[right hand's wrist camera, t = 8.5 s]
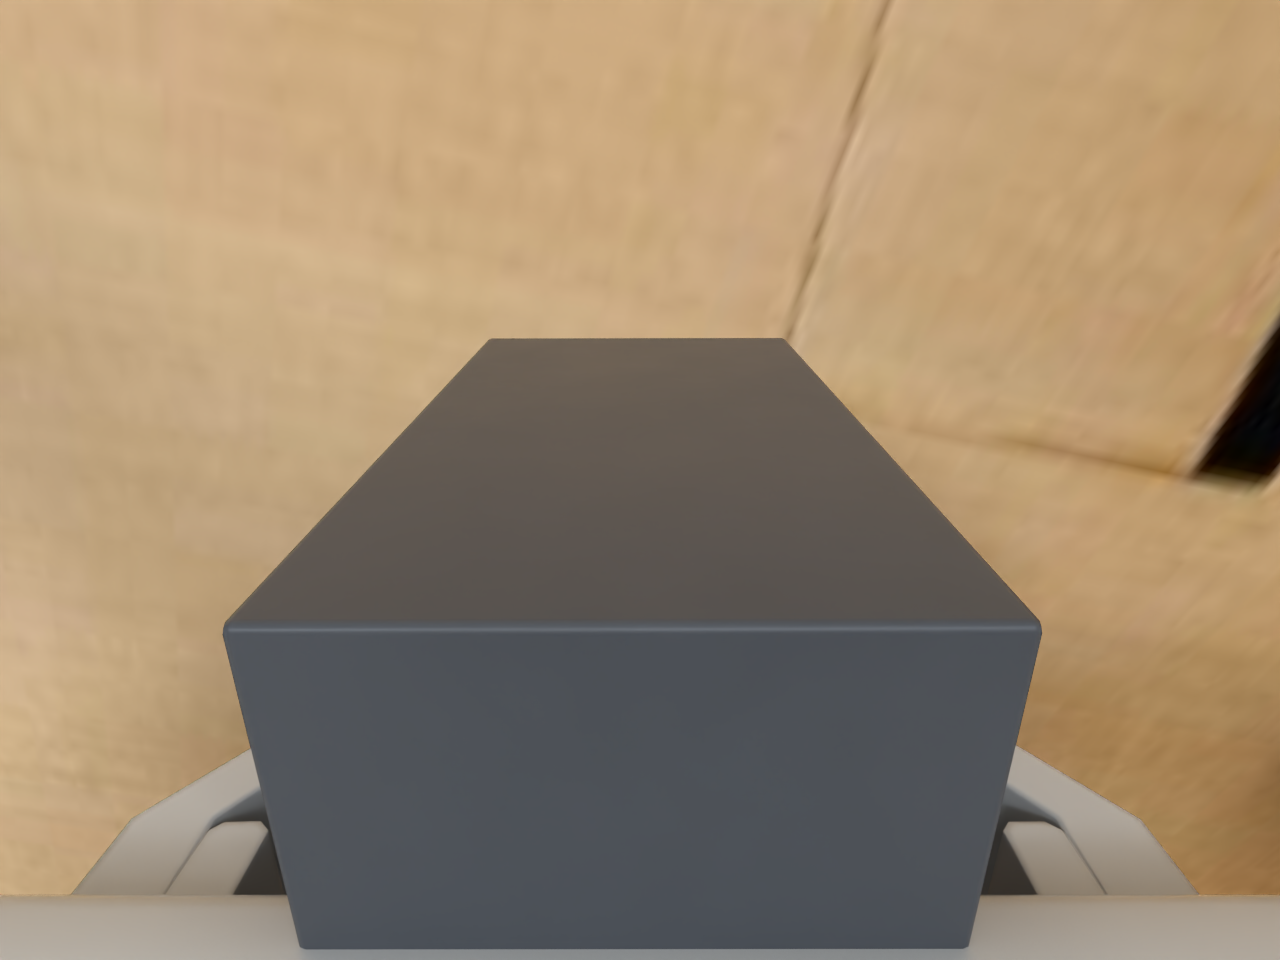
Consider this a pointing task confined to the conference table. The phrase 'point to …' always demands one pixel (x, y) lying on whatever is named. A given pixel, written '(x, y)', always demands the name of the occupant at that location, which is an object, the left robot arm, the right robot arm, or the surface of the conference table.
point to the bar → (633, 671)
